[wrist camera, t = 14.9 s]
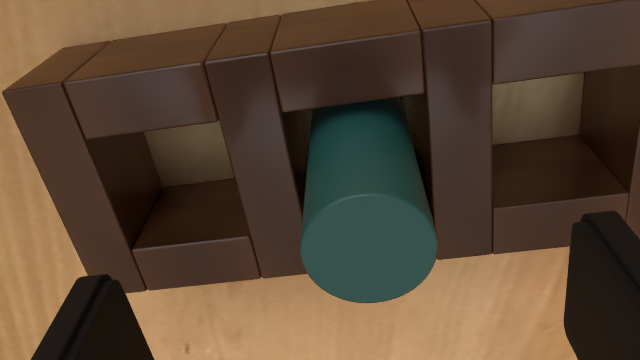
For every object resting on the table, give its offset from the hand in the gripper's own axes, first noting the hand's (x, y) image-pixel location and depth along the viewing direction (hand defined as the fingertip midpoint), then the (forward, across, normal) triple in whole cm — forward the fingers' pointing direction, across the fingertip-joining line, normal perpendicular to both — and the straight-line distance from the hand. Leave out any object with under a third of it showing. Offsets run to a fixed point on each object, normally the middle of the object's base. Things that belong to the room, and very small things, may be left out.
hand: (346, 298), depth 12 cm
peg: (+10, -1, 0) cm, 10 cm away
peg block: (+10, -1, 0) cm, 10 cm away
